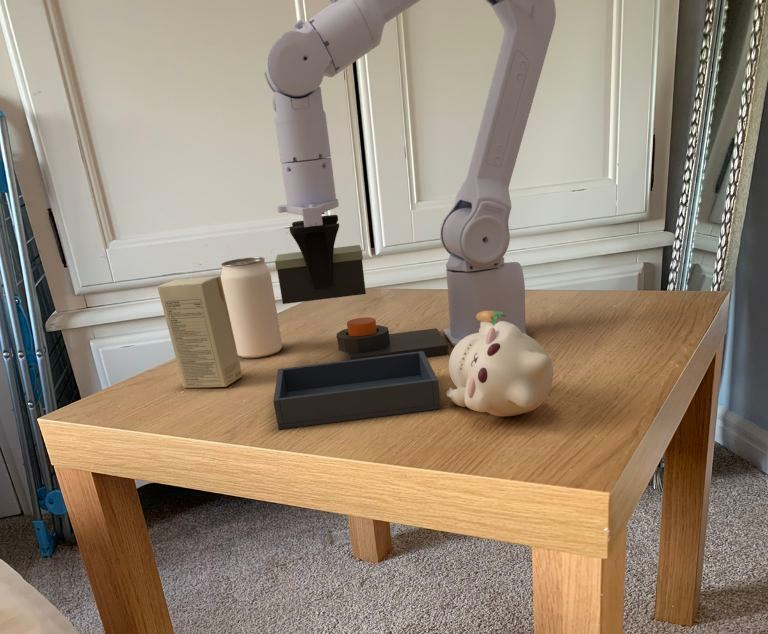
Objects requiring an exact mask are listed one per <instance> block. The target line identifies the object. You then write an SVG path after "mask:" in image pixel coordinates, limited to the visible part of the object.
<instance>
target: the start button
mask: <svg viewBox="0 0 768 634" xmlns="http://www.w3.org/2000/svg"><path fill="white" fill-rule="evenodd" d="M376 325H377V321H376V318H374V317H370V316H369V317H364V316H363V317H357V318H352V319H349V320H348V321H347V322H346V329H348V335H349V336H364V335H370V334H374V333H376V332H377V329H376Z"/></svg>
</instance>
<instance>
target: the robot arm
mask: <svg viewBox="0 0 768 634" xmlns="http://www.w3.org/2000/svg"><path fill="white" fill-rule="evenodd" d="M329 1H330V4H329V5H327V6H326V7H325V8H323V9H322V10H320V11H318V13H316V14H315V15H313V16H311V18H308V19H307V20H306V21H305V22H304V21H303V20H302V19H299V20H297V21H296V22H294V23H293V25H292V28H293V30H289V31H285V32H283V33H282V34H281V36H280V38H278V39H277V40H276V41H275V42H274V43H273V44H272V45H271V48H270V50H269V52H268V55H267V57H266V61H265V71H264V78H265V80H266V83H267V85H268V86H269V88H270V90H271V91H272V92H273V93H272V107H273V110H274V112H275V116H274V124H275V125H274V128H275V133H276V139H277V146H278V153H279V159H280V166H281V173H282V178H283V185H284V192H285V199H286V204H279V205H277V212H278V213H280V214H282V213H287V214H293V215H299V216H302V219H303V220H297V221H293V222H292V223H291V226H289V233H290V235H291V236H292V238H293V240H294V241H295V243H296V244H297V246H298V248H299V250H300V252H302V255H303V257H304V260H305V263H306V266H307V269H308V273H309V276H310V279H311V282H312V284H313V287H314V289H319V288H327V287H331V286H332V279H333V251H334V248H335V243H336V238H337V235H338V232H339V229H340V223H338V222H339V217H338V216H339V215H337V214H330V215H329V214H327V215H325V214H326V213H325V212H328V211H330V210H333V209H334V210H335V209H337V208H338V207H339V206H340V205H339V199H338V198H337V193H336V187H335V186H336V185H335V178H334V177H335V176H334V170H333V169H334V168H333V162H332V155H331V153H332V152H331V147H330V145H331V144H330V139H329V138H330V137H329V130H328V129H329V128H328V121H327V114H326V111H325V110H324V105H323V104H324V103H323V95H322V89H321V84H322V82H323V80H324V77H328V78H333V77H336V75H338V74H339V73H341V72H342V71H344V70H345V69H347V68H348V67H349V66H351V65H352V64H353V63H355V62H356V61H358V60H359V59H361V58H362V57H364V56H365V55H367V54H368V53H370V52H371V51H373V50H374V49H375V48H377V47H378V46H380V44H381V41H382V36H383V31H384V28H385V25H386V24H387V23H389V22H390V21H391V20H393V19H394V18H396V17H397V16H400V15H401V14H402V13H404V12H405V11H407V10H409V9H410V8H411V7H413V6H415V5H416V4H418V3H419V2H420V1H422V0H329ZM484 1H485V2H486V3H487V4H488V5H489V6H490V7H491V8H492V10H493V11H494V13H495V15H496V17H497V19H498V21H499V22H500V24H501V26H502V28H503V37H502V41H501V44H500V48H499V52H498V56H497V60H496V63H495V68H494V72H493V75H492V79H491V83H490V86H489V90H488V94H487V99H486V101H485V105H484V110H483V114H482V118H481V121H480V125H479V129H478V133H477V136H476V141H475V144H474V148H473V152H472V156H471V159H470V163H469V167H468V171H467V175H466V178H465V180H464V181H463V183H462V184H461V186H460V188H459V190H458V192H456V196H455V199H454V202H453V205H452V208H451V209H450V210H449V212H448V213H447V214H446V215H445V217H444V218H443V220H442V222H441V224H440V229H439V238H440V242H441V245H442V247H443V249H444V251H446V252H447V253H448V254H449V257H448V260H447V262H446V264H445V268H446V269H445V271H446V284H447V302H448V317H449V318H448V319H449V328H444V329H443V333H444V335H445V337H446V338H447V340H448V341H449V343H450V344H451V346H452V347H455V346H456V345H457V344H458V342H459V341H461V340H462V339H463V338H465V337H466V336H468V335H471V334H474V333H479V329H480V323H481V321H479V320H478V319H477V318H476V315H477V314H478V313H479V312H482V311H494V312H495V311H496V312H503V313H504V314H505V315H506V317H504V316H501V315H499V318H498V320H499V321H506V322H509V323H511V324H513V325H515V326H516V327H518V328H519V330H520V331H521V332H522V333H523V334H526V335H528V333H527V332H526V329H527V328H526V287H525V286H526V285H525V284H526V283H525V276H524V272H523V267H522V265H521V263H520V262H518V261H509V262H505V257H504V256H505V255H506V253H507V251H508V249H509V245H510V240H511V233H510V227H509V219H510V215H511V210H512V201H511V196H510V190H509V188H510V184H511V180H512V177H513V173H514V169H515V166H516V163H517V159H518V155H519V153H520V148H521V146H522V141H523V139H524V134H525V131H526V127H527V123H528V120H529V117H530V113H531V110H532V106H533V103H534V98H535V96H536V92H537V88H538V84H539V81H540V77H541V73H542V70H543V67H544V63H545V60H546V57H547V53H548V49H549V46H550V43H551V42H550V41H551V39H552V35H553V31H554V29H555V24H556V17H557V11H556V2H555V0H484Z"/></svg>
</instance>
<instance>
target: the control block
mask: <svg viewBox="0 0 768 634" xmlns="http://www.w3.org/2000/svg"><path fill="white" fill-rule="evenodd" d="M376 329H377V332H376V333H374V334H370V335H364V336H349V335H348V328H344V329H341V330H339V331H338V332H336V341H337V347H338V348H337V349H338V351H339V352H341V353H345V354H346V353H347V354H348V356H349V360H355V359H363V358H371V357H379V356H387V355H395V354H403V353H411V352H419V351H423V352H424V354H425V356H426V357H427V358H430V357H438V356H446V355H449V345H448V343H447V342H446V340H445V338H444V337H443V336H442V334H441V332H440V331H439V329H438V328H437V327H435V328H428V329H426V328H425V329H418V330H410V331H403V332H402V331H401V332H395V333H394V332H393V333H390V331H389V328H388V326H384V325H379V324H376Z"/></svg>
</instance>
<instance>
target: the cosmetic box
mask: <svg viewBox="0 0 768 634" xmlns="http://www.w3.org/2000/svg"><path fill="white" fill-rule="evenodd" d="M157 290H158V295H159V298H160V302H161V306H162V310H163V314H164V317H165V321H166V326H167V329H168V333H169V337H170V340H171V345H172V348H173V352H174V356H175V360H176V364H177V367H178V371H179V375H180V379H181V384H182V388H184V389H187V388H190V389H192V388H194V389H196V388H197V389H198V388H226V387H227V386H230V385H231V384H233V383H234V382H236V381H237V380H239V379H240V378H241V377H243V372H242V368H241V363H240V359H239V358H240V357H239V356H238V353H237V349H236V344H235V340H234V335H233V331H232V326H231V322H230V317H229V313H228V308H227V304H226V299H225V295H224V291H223V286H222V281H221V275H216V276H215V275H214V276H203V277H202V276H201V277H192V278H191V277H190V278H177V279H174V280H171V281H168V282H165V283H163V284H160V285H158V286H157Z"/></svg>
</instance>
